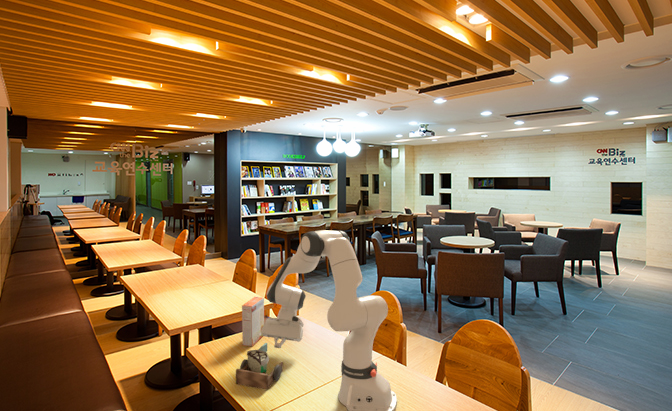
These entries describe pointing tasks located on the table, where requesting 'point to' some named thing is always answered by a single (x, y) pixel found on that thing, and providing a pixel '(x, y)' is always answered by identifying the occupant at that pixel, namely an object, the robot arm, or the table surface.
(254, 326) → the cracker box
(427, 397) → the table surface
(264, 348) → the pale teal plank
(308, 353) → the table surface
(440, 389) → the table surface
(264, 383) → the cart bed
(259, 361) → the food container
